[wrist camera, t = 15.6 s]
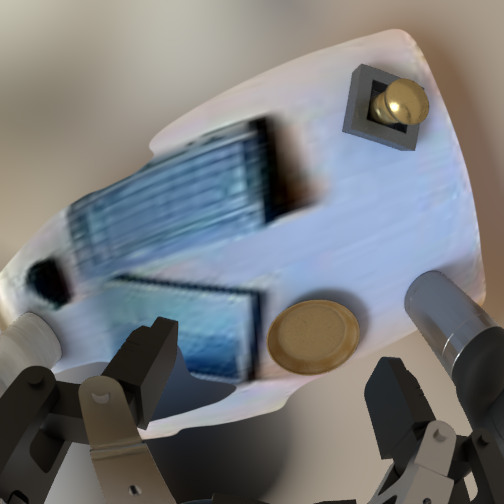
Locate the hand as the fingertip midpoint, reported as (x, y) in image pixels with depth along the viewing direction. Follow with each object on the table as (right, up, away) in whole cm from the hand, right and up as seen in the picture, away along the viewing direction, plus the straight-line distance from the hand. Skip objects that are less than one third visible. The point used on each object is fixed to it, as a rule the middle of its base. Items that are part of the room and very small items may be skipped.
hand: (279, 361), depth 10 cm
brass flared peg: (+16, +23, +23) cm, 36 cm away
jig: (+16, +23, +23) cm, 36 cm away
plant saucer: (+9, -9, +35) cm, 37 cm away
